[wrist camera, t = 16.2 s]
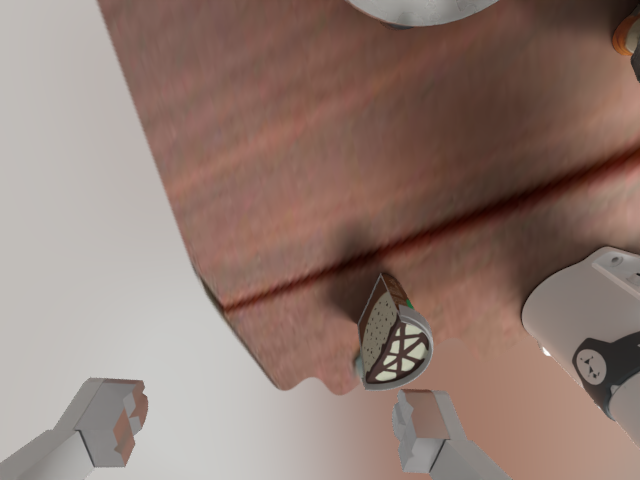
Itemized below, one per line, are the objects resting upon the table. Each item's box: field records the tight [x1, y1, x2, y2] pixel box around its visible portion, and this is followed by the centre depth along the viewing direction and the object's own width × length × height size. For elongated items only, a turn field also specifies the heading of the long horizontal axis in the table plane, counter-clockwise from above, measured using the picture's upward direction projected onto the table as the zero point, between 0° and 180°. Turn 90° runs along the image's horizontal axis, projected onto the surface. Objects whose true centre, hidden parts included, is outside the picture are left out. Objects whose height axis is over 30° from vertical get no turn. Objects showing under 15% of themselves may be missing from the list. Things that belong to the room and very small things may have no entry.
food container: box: [357, 273, 433, 391], centre depth 43 cm, size 12×6×10 cm, turn 164°
